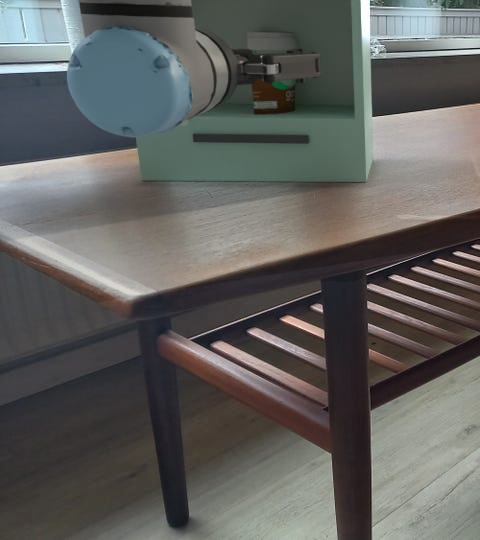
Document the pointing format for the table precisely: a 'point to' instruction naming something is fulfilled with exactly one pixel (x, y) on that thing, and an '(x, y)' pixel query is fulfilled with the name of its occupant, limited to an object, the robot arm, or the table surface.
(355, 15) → the mint green cubby cabinet
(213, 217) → the table surface
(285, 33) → the food container
